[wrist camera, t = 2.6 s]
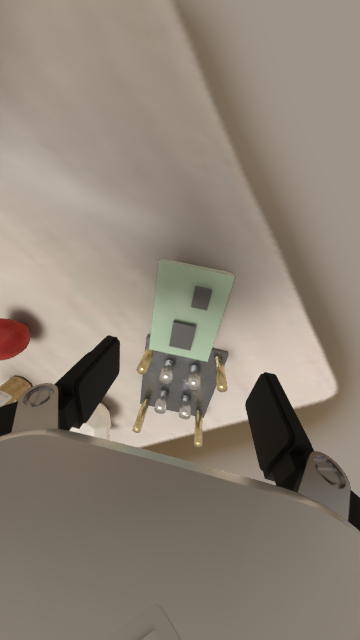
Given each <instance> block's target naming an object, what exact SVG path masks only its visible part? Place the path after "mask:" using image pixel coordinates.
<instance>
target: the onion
mask: <svg viewBox="0 0 360 640" xmlns="http://www.w3.org/2000/svg"><path fill="white" fill-rule="evenodd" d="M29 341H30V335H29V327H28V326H27V325H26V324H23V323H20V322H17V321H14V320H11V319H0V360H6V359H10V358H12V357H14V356H16V355H18V354H19V353H21V352H22V351H23V350H24V349H26V348H27V346H28V344H29Z"/></svg>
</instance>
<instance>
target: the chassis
mask: <svg viewBox="0 0 360 640" xmlns="http://www.w3.org/2000/svg"><path fill="white" fill-rule="evenodd" d="M149 345H150V335H148V336H147V337H146V347H145V353H144V355H143V357H142V359H141V361H140V363H139V365H138V367H137V372H138V373H139V374H143V379H142V390H141V401H140V404H142V405H141V408H140V411H139V413H138V416H137V419H136V422H135V424H134V427H133V431H134V432H136V433H139V432H140V430H141V427H142V424H143V421H144V418H145V415H146V412H147V408H148V405H149V406H153V407H155V408H154V410H155V411H156V412H157V413H160V414H163V413H165V411H166V409H167V410H171V411H175V412H179V417H180V418H182V419H189V418H190V415H193V416H195V439H194V445H195V446H197V447H201V446H202V418H204V415H205V413H206V410H207V407H208V405H209V402H210V400H211V397H212V395H213V392H214V390H215V387H216V385H217V390H218V391H220V392H225V391H227V389H228V388H227V382H226V376H225V370H224V365H225V362H226V360H227V357H228V352H226V351H222V350H217V349H212V350H211V353H210V356H209V359H208V362H206V361H201V360H197V359H192V358H187V357H183V356H178V355H174V354H169V353H164V352H160V351H155V350H151V349H149Z"/></svg>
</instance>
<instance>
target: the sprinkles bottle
mask: <svg viewBox="0 0 360 640" xmlns="http://www.w3.org/2000/svg"><path fill="white" fill-rule="evenodd" d="M30 388H32V387H31V385H30V384H29V382H28V381H26V380H24V379H23V378H20V377H12V378H10V379H9V380H8V381H7V382H6V383H4V384H3V385H2V386H0V407H1V406H4V405H7V404H10V403H13V402H16V401H19V398H20V397H21V395H22V394H23V393H24V392H25V391H27V390H28V389H30Z"/></svg>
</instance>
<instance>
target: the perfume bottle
mask: <svg viewBox="0 0 360 640" xmlns="http://www.w3.org/2000/svg"><path fill="white" fill-rule="evenodd" d="M110 427H111V420H110V414H109V411H108V410H107V408H106V407H105V406H104V405H103V404H102V403H99V405H98V406H97V408H96V409H95V411H94V412H93V414H92V415H91V417H90V418H89V420H88V421H87V423H83V424H82V426H81V427H80V429H77V428H73V427H72V428H71V429H70V431H72V432H77V433H81V434H85V435H90V436H94V437H98V438H102V439H106V440H109V436H110V435H109V434H108V432H109V430H110Z"/></svg>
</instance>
